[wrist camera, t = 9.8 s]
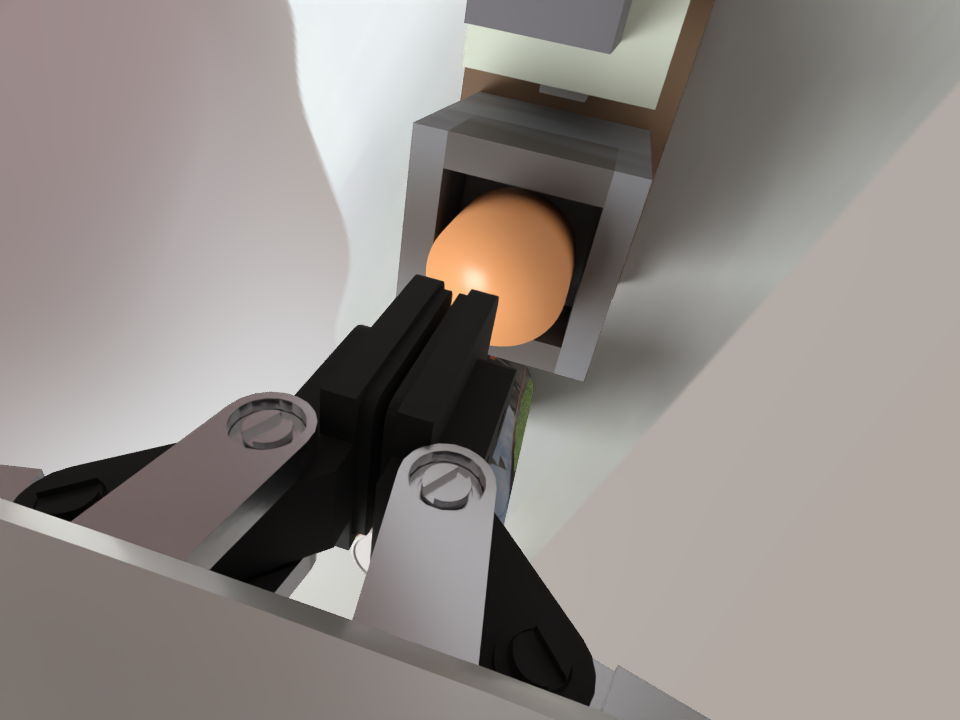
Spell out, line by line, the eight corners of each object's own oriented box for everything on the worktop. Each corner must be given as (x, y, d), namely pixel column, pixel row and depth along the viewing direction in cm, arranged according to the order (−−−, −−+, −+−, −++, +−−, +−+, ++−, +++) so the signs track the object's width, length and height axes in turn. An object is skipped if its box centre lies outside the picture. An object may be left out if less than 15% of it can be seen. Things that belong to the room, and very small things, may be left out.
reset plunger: (558, 322, 18) (547, 362, 16) (443, 291, 19) (418, 325, 17) (592, 205, 16) (585, 233, 14) (461, 172, 17) (435, 195, 15)
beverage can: (520, 313, 28) (451, 480, 18) (554, 431, 31) (511, 628, 21) (408, 331, 30) (290, 489, 20) (450, 440, 33) (368, 622, 23)
